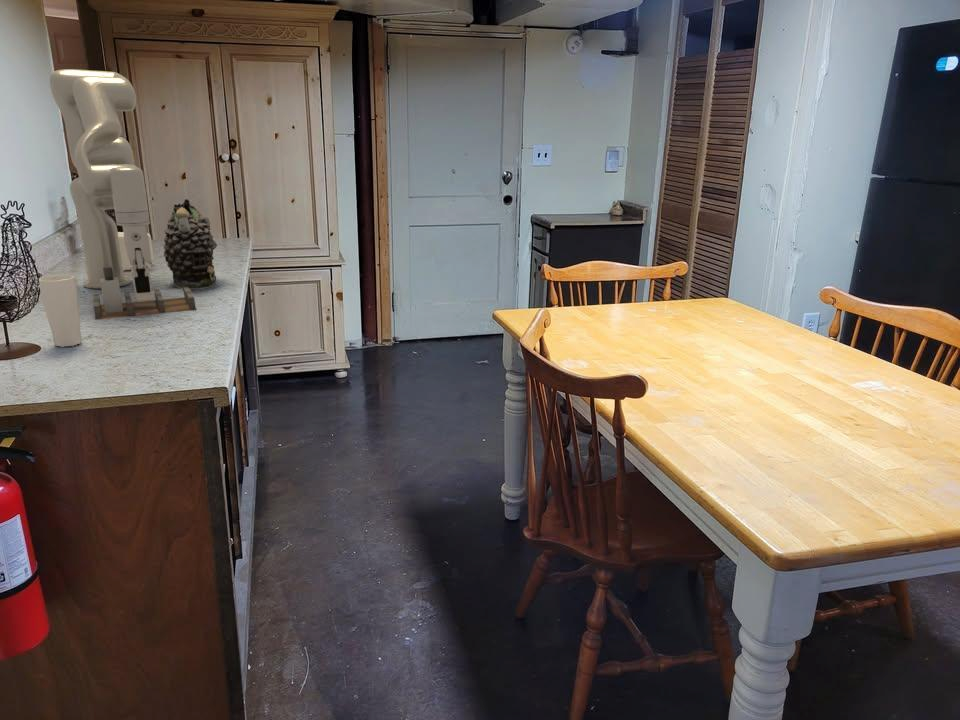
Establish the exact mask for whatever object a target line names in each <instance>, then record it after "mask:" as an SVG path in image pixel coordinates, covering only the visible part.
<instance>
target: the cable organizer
mask: <svg viewBox="0 0 960 720" xmlns="http://www.w3.org/2000/svg"><path fill="white" fill-rule="evenodd" d="M117 232H118V238H119V245H120V252H121V259H122V265H123V272H125V271H127V270H129V271H130V270H131V267H133V265H131V264H130V261H129V258H128V254H127V250H126V245H125V239H124V233H123V231H122V232H121V231H117ZM147 234H148V240H149V247H150V254H151V260H152V264H151V265H149V263H146V261H145V263H146V266H148V267H149V268H150V267H152V265H153V262H154V260H155V259H154V251H153V244H152V243H153V242H152V237H151V234H150V233H148V232H147Z"/></svg>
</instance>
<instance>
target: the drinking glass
mask: <svg viewBox="0 0 960 720" xmlns="http://www.w3.org/2000/svg"><path fill="white" fill-rule="evenodd" d="M38 283H39V291H40V292H39V293H40V296H41V300H42V305H43V307H44V310H45V314H46V318H47V321H48V324H49V328H50V332H51V335H52V340H53V344H54V345H55V346H56V347H57V346H62V347H61V348H64V347H63V346H72V347H75V346H74V345H76V346H78V345H77V344H79V345H80V344H82V341H83V340H82V331H81V318H80V308H79V305H80V304H79V295H78V288H77V282H76V278H75V276H74V275H73V274H72V275H71V274H54V275H53V274H52V275H47V276H42V277H40V278H38Z"/></svg>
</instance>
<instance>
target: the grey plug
mask: <svg viewBox="0 0 960 720" xmlns="http://www.w3.org/2000/svg"><path fill="white" fill-rule="evenodd" d="M103 272H104V278H102V279H100V282H101V288H100V289H101V292H102V293H101V294H102V302H103V305H104V307H105V313H112V312H123V307H122V303H123V301H122V295H121V289H120V288H121V286H120V287H119V281H118V277H115V278H113V271H112V267H104V268H103Z"/></svg>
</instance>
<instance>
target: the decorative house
mask: <svg viewBox="0 0 960 720" xmlns="http://www.w3.org/2000/svg"><path fill="white" fill-rule="evenodd" d="M183 201H184V202H183V203H181V204H180V203H178V204H174V205H173V210H172V212H171V216H170V218H168V219H167V226H166V228H165V229H164V233H165V237H164V238H163V240H164V244H163V249H164V251H163V257H165V259H164V260H165V262H166V264H167V267H168V268H169V271H171V272H172V279H173V285H174V286H175V287H177V288H179V289H183V287H188V288H189V290H192V291H195V290H202V289H203V290H204V289H207V288H211V287H214V286H215V283H216V279H217V276H216V271H215V265H214V264H213V260H214V259H215V258H214V256H213V255H214V250H215V249H216V248H217V246H218V244H217V242H216V241H215V240H214V236H213V234H212V233H211V222H210V219H209V218H208V217H207V216H206V217H204V216H203V214H202V213H200V211H199V210H198V209H197V208H196V207H195V206H192V205H191V204H190V201H189V199H184V200H183Z"/></svg>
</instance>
